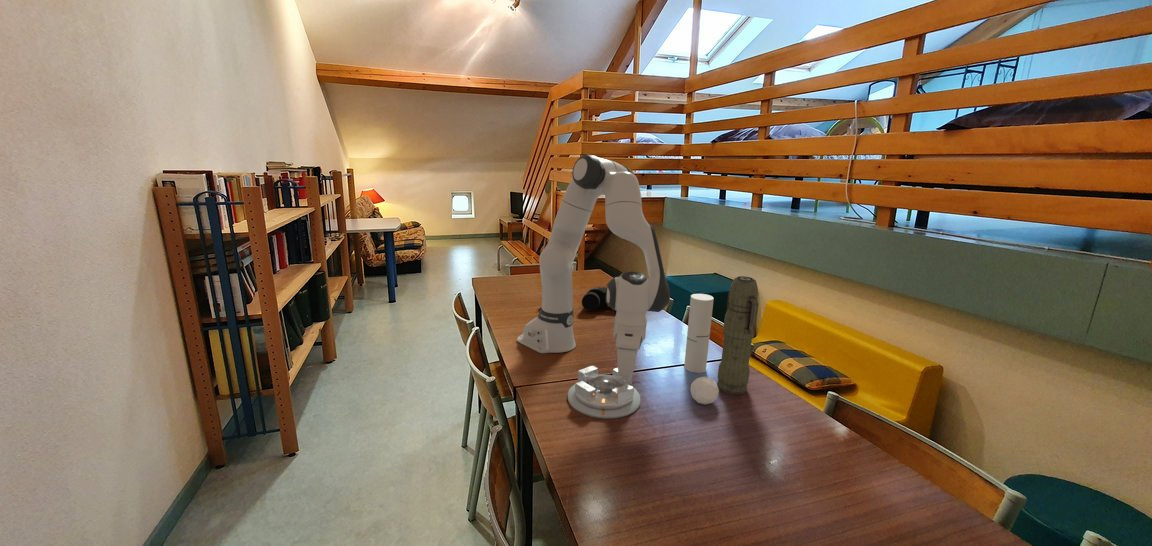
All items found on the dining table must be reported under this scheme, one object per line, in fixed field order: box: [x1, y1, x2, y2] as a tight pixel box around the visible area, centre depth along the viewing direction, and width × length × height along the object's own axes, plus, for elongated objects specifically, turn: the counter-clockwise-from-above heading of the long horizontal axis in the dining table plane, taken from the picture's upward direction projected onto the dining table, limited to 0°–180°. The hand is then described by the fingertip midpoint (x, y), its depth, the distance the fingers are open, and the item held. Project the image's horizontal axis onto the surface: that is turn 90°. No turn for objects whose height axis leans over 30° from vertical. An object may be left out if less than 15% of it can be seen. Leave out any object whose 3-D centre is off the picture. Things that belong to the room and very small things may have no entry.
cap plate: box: [567, 383, 641, 420], centre depth 133 cm, size 21×21×1 cm
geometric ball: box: [690, 375, 720, 405], centre depth 131 cm, size 8×8×8 cm
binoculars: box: [581, 286, 609, 312], centre depth 210 cm, size 29×20×10 cm
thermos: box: [716, 275, 759, 395], centre depth 137 cm, size 9×12×35 cm
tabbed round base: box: [574, 365, 635, 410], centre depth 132 cm, size 17×17×5 cm
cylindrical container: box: [683, 293, 714, 374], centre depth 151 cm, size 7×7×25 cm
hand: (625, 376), depth 130 cm, fingers closed
